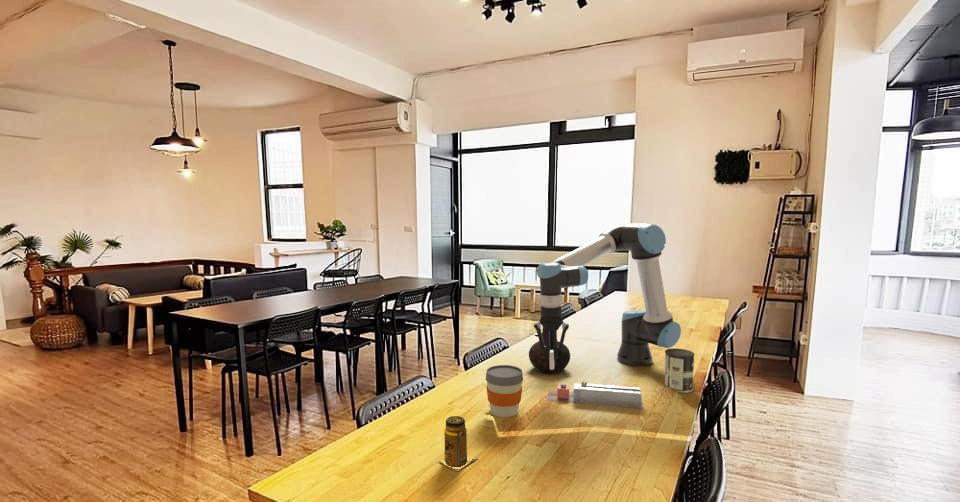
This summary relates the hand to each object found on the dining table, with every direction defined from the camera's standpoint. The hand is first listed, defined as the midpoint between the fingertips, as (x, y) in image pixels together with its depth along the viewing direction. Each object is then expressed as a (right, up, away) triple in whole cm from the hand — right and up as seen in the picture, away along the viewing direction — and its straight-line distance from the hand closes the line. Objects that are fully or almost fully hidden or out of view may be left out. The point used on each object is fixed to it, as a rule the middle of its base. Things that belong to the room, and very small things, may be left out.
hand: (552, 368), depth 166 cm
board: (+14, -11, -6) cm, 19 cm away
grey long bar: (+18, -10, -9) cm, 22 cm away
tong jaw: (+19, -9, -7) cm, 23 cm away
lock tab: (+3, -10, -4) cm, 11 cm away
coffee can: (+50, -10, +8) cm, 52 cm away
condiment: (-33, -14, -43) cm, 56 cm away
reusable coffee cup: (-18, -12, -15) cm, 26 cm away
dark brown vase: (+3, -8, +28) cm, 30 cm away
